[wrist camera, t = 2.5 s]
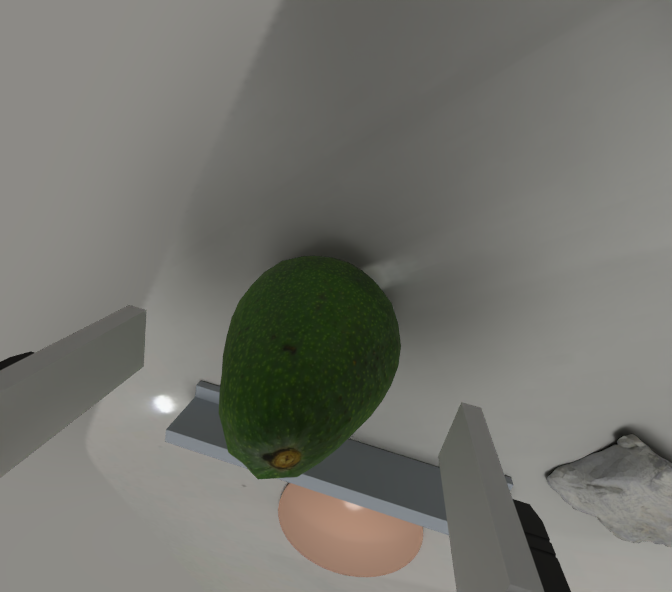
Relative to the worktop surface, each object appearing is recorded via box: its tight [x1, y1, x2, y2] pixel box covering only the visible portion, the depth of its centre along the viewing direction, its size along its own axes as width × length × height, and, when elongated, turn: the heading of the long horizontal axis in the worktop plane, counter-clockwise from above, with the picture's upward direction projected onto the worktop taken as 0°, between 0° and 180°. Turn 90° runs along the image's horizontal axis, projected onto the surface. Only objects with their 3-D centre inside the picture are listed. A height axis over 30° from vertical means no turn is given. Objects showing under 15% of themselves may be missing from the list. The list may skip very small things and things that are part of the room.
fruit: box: [219, 256, 401, 479], centre depth 17 cm, size 8×8×12 cm
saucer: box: [278, 483, 423, 577], centre depth 28 cm, size 11×11×1 cm
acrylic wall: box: [165, 381, 513, 535], centre depth 24 cm, size 3×22×4 cm, turn 77°
